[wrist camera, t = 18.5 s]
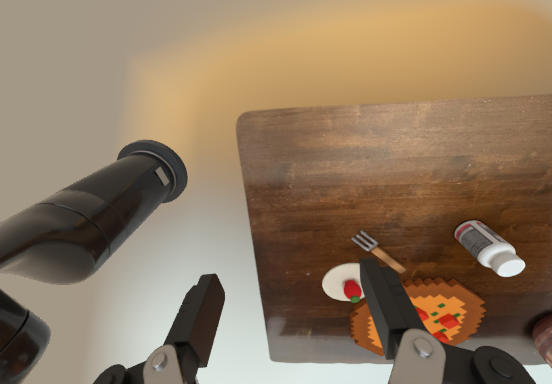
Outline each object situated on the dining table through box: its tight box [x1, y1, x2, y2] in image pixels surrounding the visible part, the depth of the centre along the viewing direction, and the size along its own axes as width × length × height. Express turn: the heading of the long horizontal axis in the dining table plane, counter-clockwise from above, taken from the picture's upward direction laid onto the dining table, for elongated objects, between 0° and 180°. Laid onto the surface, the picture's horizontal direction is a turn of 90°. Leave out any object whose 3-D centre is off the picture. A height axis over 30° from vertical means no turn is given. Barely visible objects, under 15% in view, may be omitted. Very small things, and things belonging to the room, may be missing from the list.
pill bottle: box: [454, 220, 525, 277], centre depth 40 cm, size 5×5×10 cm
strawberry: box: [344, 280, 362, 303], centre depth 51 cm, size 4×4×4 cm
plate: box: [322, 263, 365, 301], centre depth 53 cm, size 13×13×1 cm
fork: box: [351, 230, 406, 274], centre depth 47 cm, size 15×3×1 cm, turn 51°
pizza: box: [349, 277, 487, 356], centre depth 57 cm, size 32×32×3 cm
